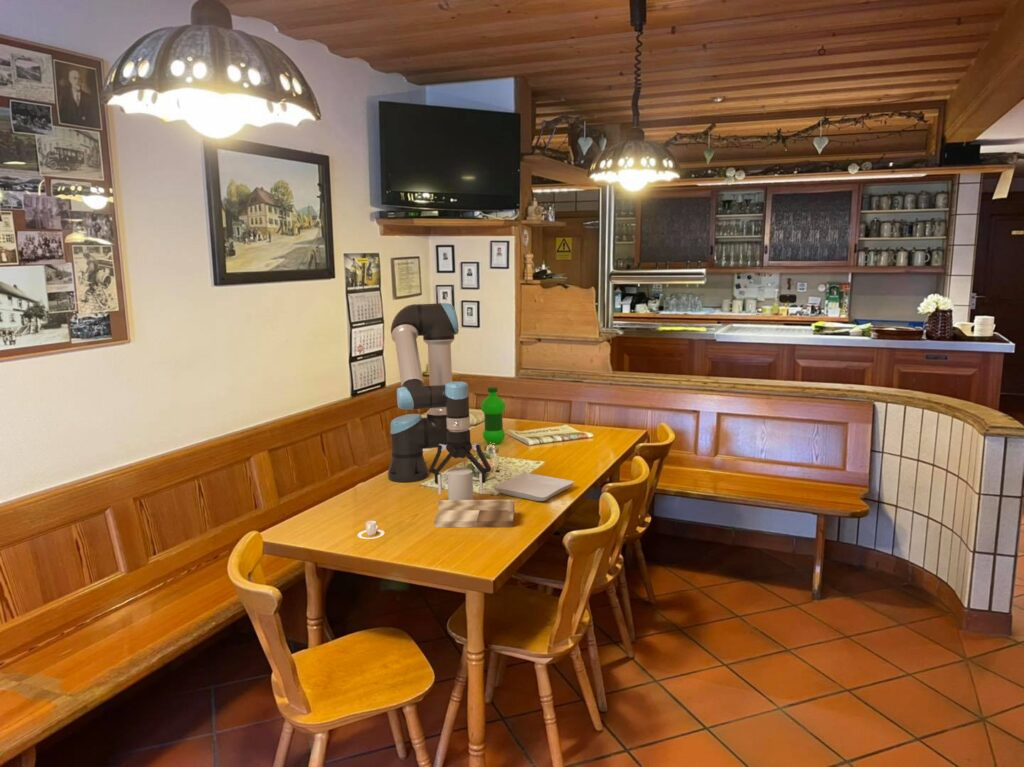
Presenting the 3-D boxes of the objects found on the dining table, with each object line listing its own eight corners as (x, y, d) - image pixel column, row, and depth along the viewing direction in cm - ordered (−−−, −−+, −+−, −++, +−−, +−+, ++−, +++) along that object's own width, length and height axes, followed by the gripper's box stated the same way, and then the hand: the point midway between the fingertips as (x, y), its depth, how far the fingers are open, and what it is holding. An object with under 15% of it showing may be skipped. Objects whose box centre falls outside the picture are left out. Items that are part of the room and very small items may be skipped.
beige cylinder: (469, 501, 249) (467, 466, 247) (476, 508, 242) (475, 473, 240) (445, 504, 246) (444, 469, 244) (452, 512, 239) (451, 476, 237)
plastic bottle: (505, 445, 323) (504, 389, 319) (481, 446, 324) (479, 389, 320) (506, 440, 333) (504, 385, 329) (483, 440, 334) (481, 386, 329)
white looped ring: (368, 528, 227) (367, 515, 226) (391, 531, 224) (390, 518, 223) (352, 538, 219) (351, 525, 218) (375, 541, 216) (374, 528, 215)
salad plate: (576, 489, 260) (576, 480, 260) (544, 506, 243) (544, 496, 242) (525, 480, 272) (525, 471, 272) (492, 496, 255) (491, 486, 254)
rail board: (434, 527, 225) (433, 511, 224) (439, 515, 236) (438, 500, 235) (513, 527, 224) (512, 511, 223) (514, 514, 235) (514, 499, 234)
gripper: (418, 432, 237) (421, 496, 240) (496, 431, 235) (498, 495, 238) (422, 427, 244) (425, 490, 247) (497, 426, 243) (499, 489, 246)
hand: (460, 493), depth 243 cm, fingers open, 13 cm apart
